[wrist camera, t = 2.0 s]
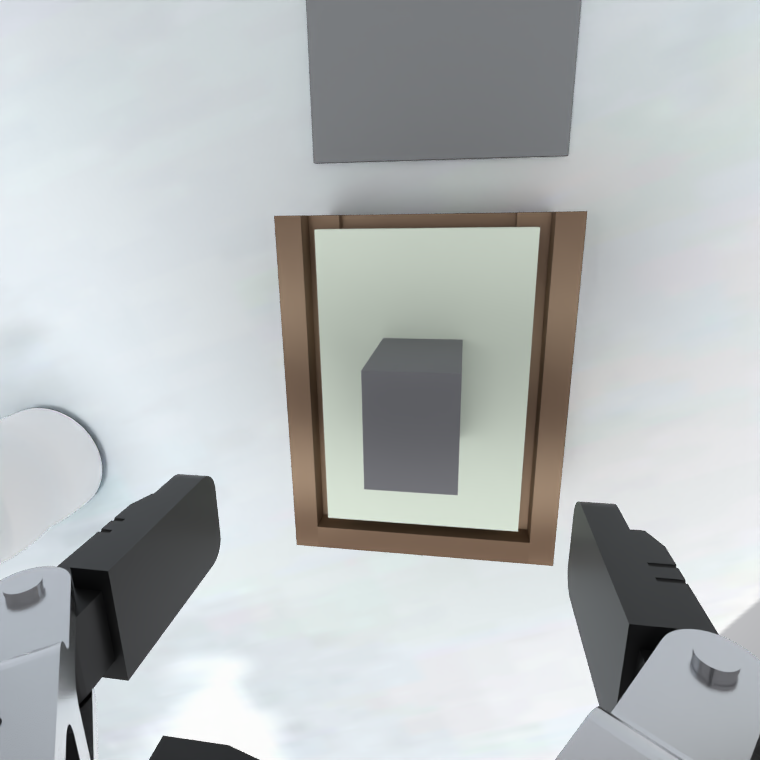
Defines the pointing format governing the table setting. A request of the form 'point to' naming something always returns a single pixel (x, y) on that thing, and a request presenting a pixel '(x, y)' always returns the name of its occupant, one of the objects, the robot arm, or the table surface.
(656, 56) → the table surface
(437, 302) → the lid
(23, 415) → the water bottle
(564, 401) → the box
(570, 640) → the table surface
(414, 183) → the table surface
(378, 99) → the mat
